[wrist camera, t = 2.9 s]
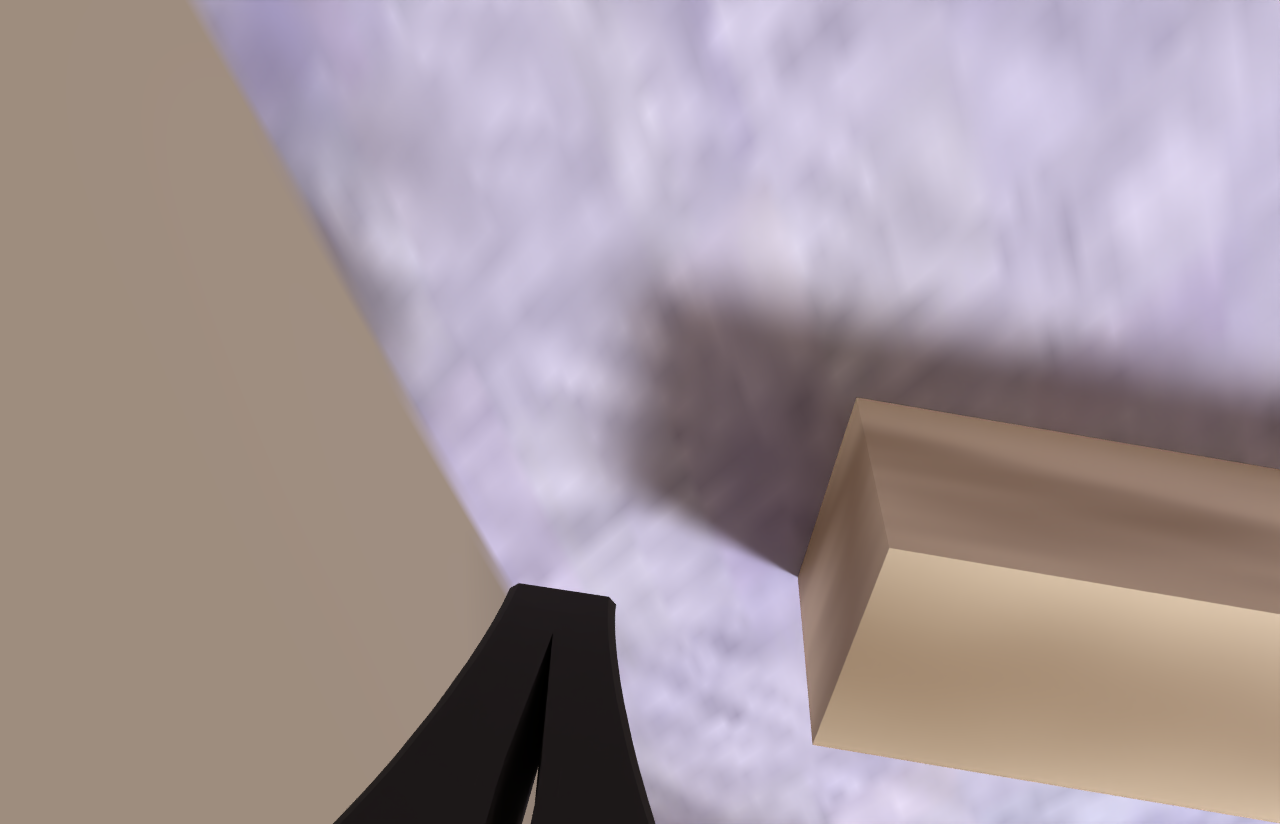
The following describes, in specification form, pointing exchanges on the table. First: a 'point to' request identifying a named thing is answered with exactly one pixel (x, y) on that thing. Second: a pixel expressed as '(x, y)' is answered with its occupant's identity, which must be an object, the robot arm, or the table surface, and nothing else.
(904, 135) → the table surface
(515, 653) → the robot arm
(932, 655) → the bar
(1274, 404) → the table surface
